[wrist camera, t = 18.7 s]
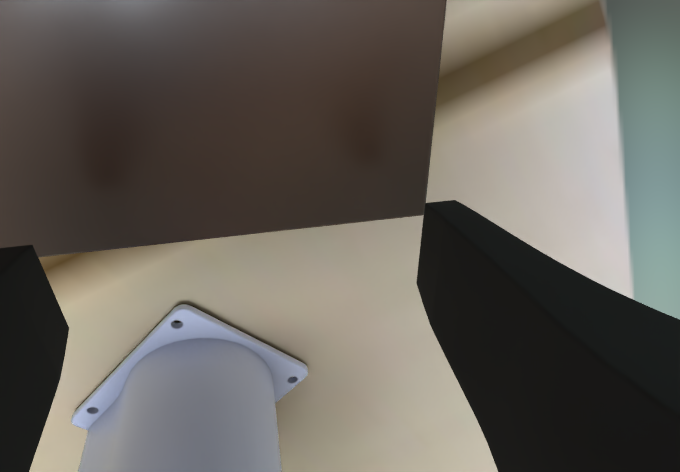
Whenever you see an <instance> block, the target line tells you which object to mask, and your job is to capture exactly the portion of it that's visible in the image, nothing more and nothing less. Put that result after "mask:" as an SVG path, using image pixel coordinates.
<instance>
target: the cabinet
mask: <svg viewBox="0 0 680 472" xmlns="http://www.w3.org/2000/svg"><path fill="white" fill-rule="evenodd" d="M446 1H447V0H0V248H5V247H15V246H24V245H33V247H34V249H35V252H36V254H37V256H38V257H46V256H55V255H64V254H74V253H83V252H92V251H101V250H110V249H119V248H128V247H137V246H147V245H156V244H165V243H174V242H183V241H192V240H201V239H210V238H219V237H229V236H238V235H247V234H256V233H265V232H274V231H283V230H292V229H302V228H311V227H320V226H329V225H338V224H347V223H356V222H365V221H374V220H384V219H393V218H402V217H411V216H420V215H424V209H425V203H426V194H427V184H428V175H429V165H430V155H431V146H432V136H433V127H434V117H435V107H436V98H437V88H438V78H439V69H440V59H441V49H442V40H443V30H444V21H445V11H446Z"/></svg>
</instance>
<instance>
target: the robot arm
mask: <svg viewBox="0 0 680 472" xmlns="http://www.w3.org/2000/svg"><path fill="white" fill-rule="evenodd" d="M417 286H418V289H419V292H420V295H421V298H422V302H423V305H424V308H425V311H426V313H427V316H428V319H429V322H430V325H431V327H432V329H433V331H434V333H435V336H436V338H437V340H438V342H439V344H440V346H441V348H442V350H443V352H444V354H445V356H446V358H447V360H448V362H449V364H450V366H451V368H452V370H453V372H454V374H455V376H456V378H457V380H458V382H459V384H460V386H461V388H462V390H463V392H464V394H465V396H466V398H467V400H468V402H469V404H470V406H471V408H472V410H473V412H474V414H475V416H476V418H477V420H478V423H479V425H480V427H481V429H482V432H483V434H484V436H485V438H486V440H487V443H488V445H489V448H490V451H491V453H492V456H493V459H494V461H495V464H496V467H497V469H498V472H680V320H679V319H677V318H674V317H672V316H669V315H667V314H665V313H662V312H660V311H657V310H655V309H653V308H650V307H648V306H646V305H644V304H642V303H639V302H637V301H635V300H633V299H631V298H628V297H626V296H624V295H622V294H619V293H617V292H615V291H613V290H611V289H609V288H607V287H605V286H603V285H601V284H599V283H597V282H595V281H593V280H591V279H589V278H587V277H585V276H583V275H582V274H580V273H578V272H576V271H574V270H572V269H570V268H568V267H567V266H565V265H563V264H561V263H559V262H558V261H556V260H554V259H552V258H551V257H549V256H547V255H545V254H544V253H542V252H540V251H538V250H537V249H535V248H533V247H532V246H530V245H528V244H527V243H525V242H523V241H522V240H520V239H519V238H517V237H515V236H514V235H512V234H510V233H509V232H507V231H506V230H504V229H502V228H501V227H499V226H498V225H496V224H494V223H493V222H491V221H490V220H488V219H486V218H485V217H483V216H481V215H480V214H478V213H477V212H475V211H473V210H472V209H470V208H468V207H467V206H465V205H463V204H461V203H459V202H457V201H455V200H451V201H442V202H432V203H425V209H424V218H423V228H422V237H421V247H420V256H419V266H418V275H417ZM175 320H178V321H181V322H179V323H176V322H173V321H175ZM68 331H69V327H68V325H67V322H66V320H65V318H64V316H63V313H62V311H61V309H60V306H59V304H58V302H57V300H56V297H55V295H54V293H53V290H52V288H51V286H50V284H49V281H48V279H47V277H46V274H45V272H44V270H43V268H42V265H41V263H40V261H39V258H38V256H37V254H36V252H35V249H34V247H33V245H24V246H15V247H5V248H0V472H29V470H30V467H31V464H32V461H33V458H34V455H35V452H36V449H37V446H38V443H39V441H40V438H41V435H42V432H43V429H44V426H45V423H46V420H47V417H48V414H49V411H50V408H51V405H52V402H53V399H54V396H55V393H56V390H57V387H58V383H59V380H60V376H61V371H62V366H63V361H64V356H65V350H66V344H67V338H68ZM307 375H308V368H307V365H305V364H304V363H302V362H300V361H298V360H296V359H294V358H292V357H290V356H288V355H286V354H284V353H282V352H280V351H278V350H277V349H275V348H273V347H271V346H269V345H267V344H265V343H263V342H261V341H259V340H257V339H255V338H253V337H251V336H249V335H247V334H245V333H243V332H241V331H239V330H237V329H235V328H233V327H231V326H229V325H227V324H225V323H223V322H221V321H219V320H218V319H216V318H214V317H212V316H210V315H208V314H206V313H204V312H202V311H200V310H198V309H196V308H194V307H192V306H190V305H187V304H182V305H178V306H176V307H175V308H174V309H173V310H172V311H171V312H170V313H169V314H168V315H167V316H166V317H165V318H164V319H163V320H162V321H161V322H160V323H159V324H158V326H157V327H156V328H155V329H154V330H153V331H152V332H151V333H150V334H149V335H148V336H147V337H146V338H145V339H144V340H143V341H142V342H141V343H140V344H139V345H138V346H137V347H136V348H135V349H134V350H133V352H132V353H131V354H130V355H129V356H128V357H127V358H126V359H125V360H124V361H123V362H122V363H121V364H120V365H119V366H118V367H117V368H116V369H115V370H114V371H113V372H112V373H111V374H110V375H109V377H108V378H107V379H106V380H105V381H104V382H103V383H102V384H101V385H100V386H99V387H98V388H97V389H96V390H95V391H94V392H93V393H92V394H91V395H90V396H89V397H88V398H87V399H86V400H85V401H84V403H83V404H82V405H81V406H80V407H79V408H78V409H77V410H76V411H75V412H74V413H73V415H72V419H71V422H72V423H73V425H75V426H77V427H80V428H83V429H86V430H88V433H87V437H86V441H85V445H84V449H83V453H82V457H81V461H80V465H79V469H78V472H282V467H281V457H280V447H279V437H278V427H277V417H276V407H275V403H276V402H277V401H278V400H280V399H281V398H282V397H283V396H284V395H285V394H287V393H288V392H289V391H290V390H291V389H292V388H294V387H295V386H296V385H297V384H298V383H299V382H301V381H302V380H303V379H304V378H305V377H306V376H307ZM293 376H294V377H293Z"/></svg>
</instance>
